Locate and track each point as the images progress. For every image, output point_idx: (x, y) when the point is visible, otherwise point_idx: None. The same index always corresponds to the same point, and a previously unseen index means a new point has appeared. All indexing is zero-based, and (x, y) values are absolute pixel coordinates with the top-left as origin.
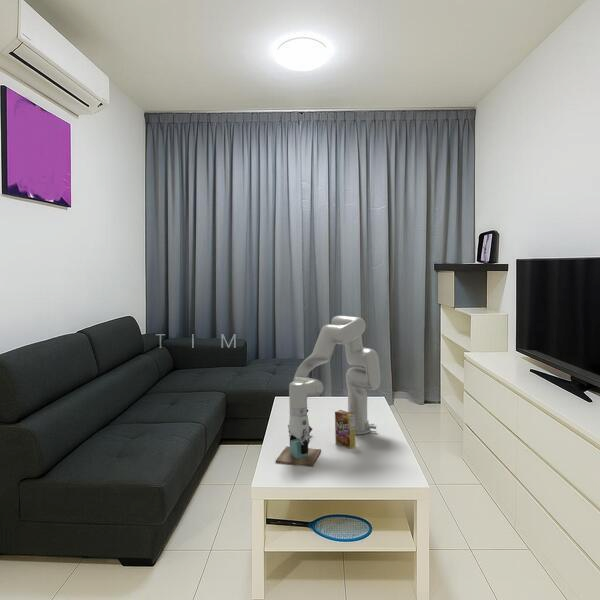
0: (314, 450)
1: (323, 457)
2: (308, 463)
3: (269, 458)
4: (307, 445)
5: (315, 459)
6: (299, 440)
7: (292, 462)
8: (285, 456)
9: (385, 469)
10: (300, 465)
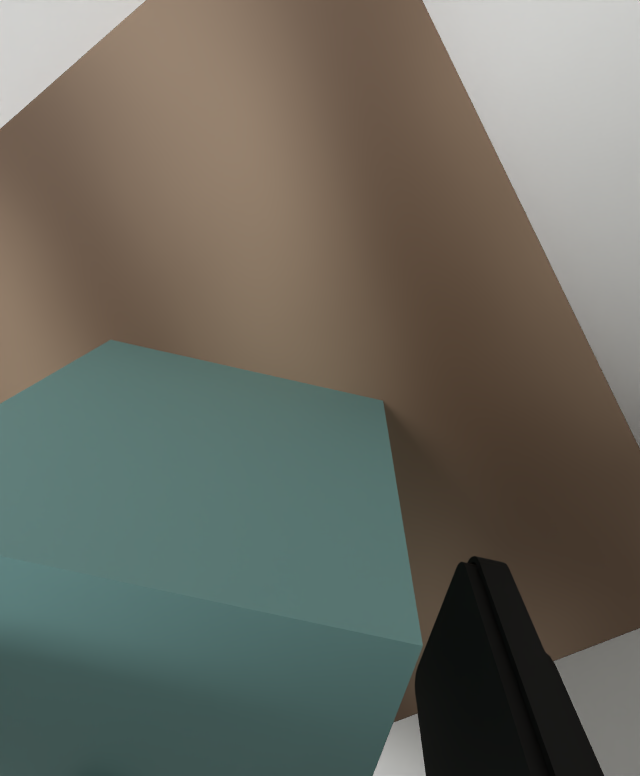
0: (264, 70)
1: (616, 124)
2: (620, 616)
3: None
4: (574, 767)
5: (629, 429)
6: (47, 737)
7: None
8: None
9: None
10: None
